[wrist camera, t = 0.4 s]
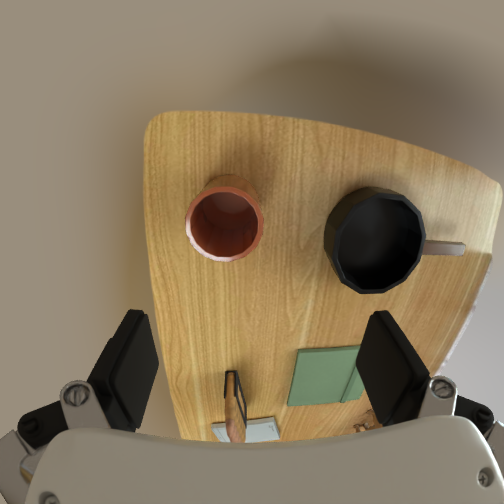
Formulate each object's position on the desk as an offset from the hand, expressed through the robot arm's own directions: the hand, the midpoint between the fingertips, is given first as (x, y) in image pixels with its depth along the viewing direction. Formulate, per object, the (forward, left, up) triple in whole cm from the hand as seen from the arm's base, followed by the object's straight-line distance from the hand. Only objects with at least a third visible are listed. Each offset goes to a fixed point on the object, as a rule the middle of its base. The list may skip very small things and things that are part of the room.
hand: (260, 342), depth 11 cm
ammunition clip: (+30, -1, -21) cm, 37 cm away
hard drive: (+44, +1, -21) cm, 49 cm away
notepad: (+27, +15, -21) cm, 38 cm away
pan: (+2, +19, -21) cm, 28 cm away
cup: (-1, -2, -21) cm, 21 cm away
